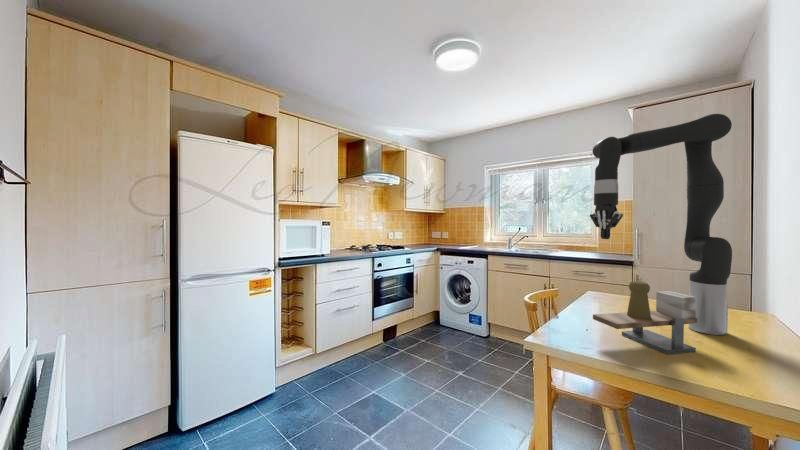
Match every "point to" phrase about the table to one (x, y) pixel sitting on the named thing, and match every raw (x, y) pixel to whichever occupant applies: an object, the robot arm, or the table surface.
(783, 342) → the table surface
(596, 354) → the table surface
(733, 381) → the table surface
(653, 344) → the beam stand
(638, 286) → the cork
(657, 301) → the balance beam
